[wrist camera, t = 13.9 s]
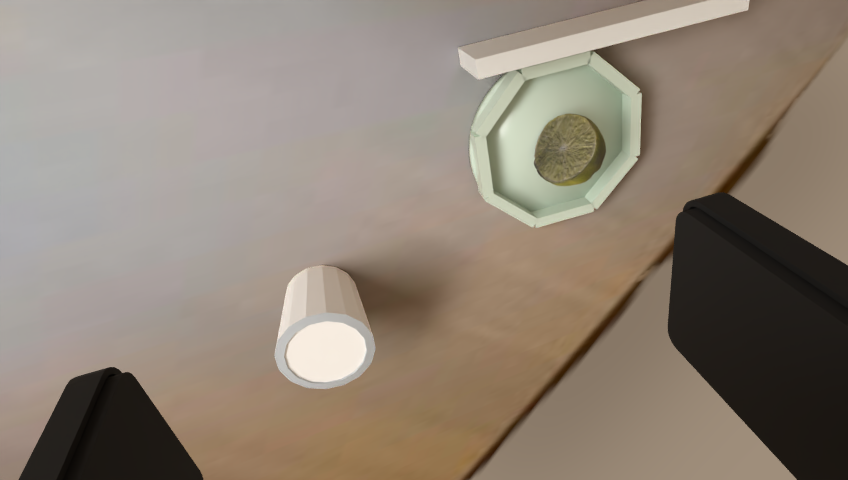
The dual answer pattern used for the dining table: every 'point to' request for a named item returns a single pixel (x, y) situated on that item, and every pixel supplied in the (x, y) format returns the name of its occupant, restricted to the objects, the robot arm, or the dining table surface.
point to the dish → (523, 123)
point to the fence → (589, 33)
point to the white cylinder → (323, 330)
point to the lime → (569, 150)
